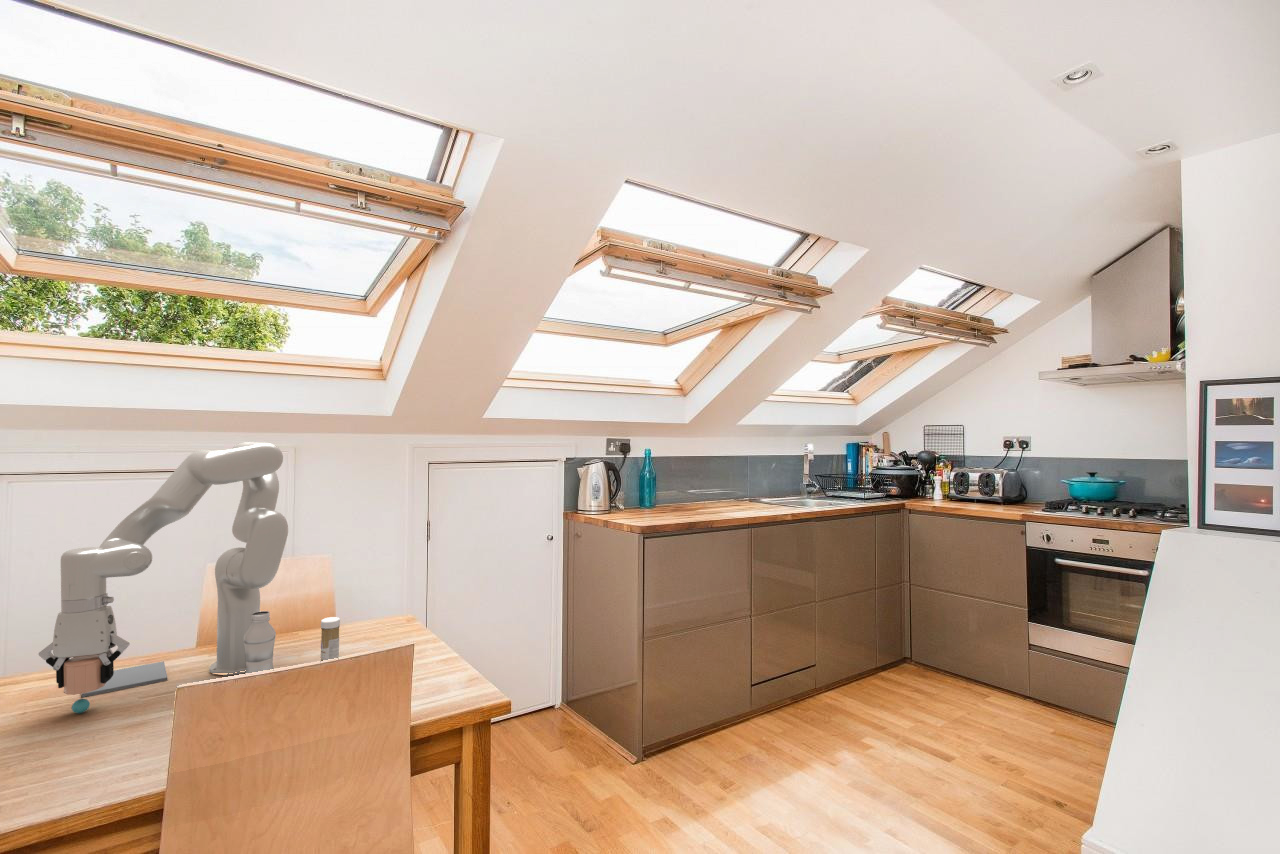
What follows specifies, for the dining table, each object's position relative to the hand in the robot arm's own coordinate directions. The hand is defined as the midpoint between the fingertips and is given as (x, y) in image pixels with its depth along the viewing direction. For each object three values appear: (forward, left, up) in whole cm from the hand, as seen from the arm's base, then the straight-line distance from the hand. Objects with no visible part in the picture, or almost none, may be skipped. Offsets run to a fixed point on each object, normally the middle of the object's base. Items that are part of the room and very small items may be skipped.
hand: (85, 682), depth 138 cm
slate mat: (+6, -17, -6) cm, 20 cm away
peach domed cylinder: (0, 0, -1) cm, 1 cm away
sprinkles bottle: (-41, -27, -7) cm, 49 cm away
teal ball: (0, +1, -6) cm, 6 cm away
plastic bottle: (-34, -9, -7) cm, 36 cm away
